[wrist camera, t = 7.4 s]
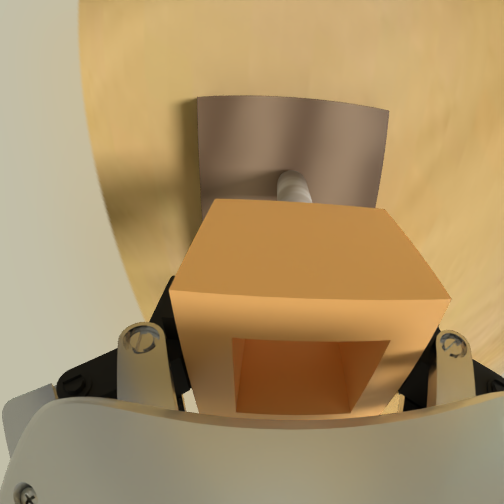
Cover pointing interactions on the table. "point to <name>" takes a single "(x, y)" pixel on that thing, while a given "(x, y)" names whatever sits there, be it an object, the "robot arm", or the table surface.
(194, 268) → the collar
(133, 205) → the table surface
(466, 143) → the table surface
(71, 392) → the robot arm
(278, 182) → the post board
